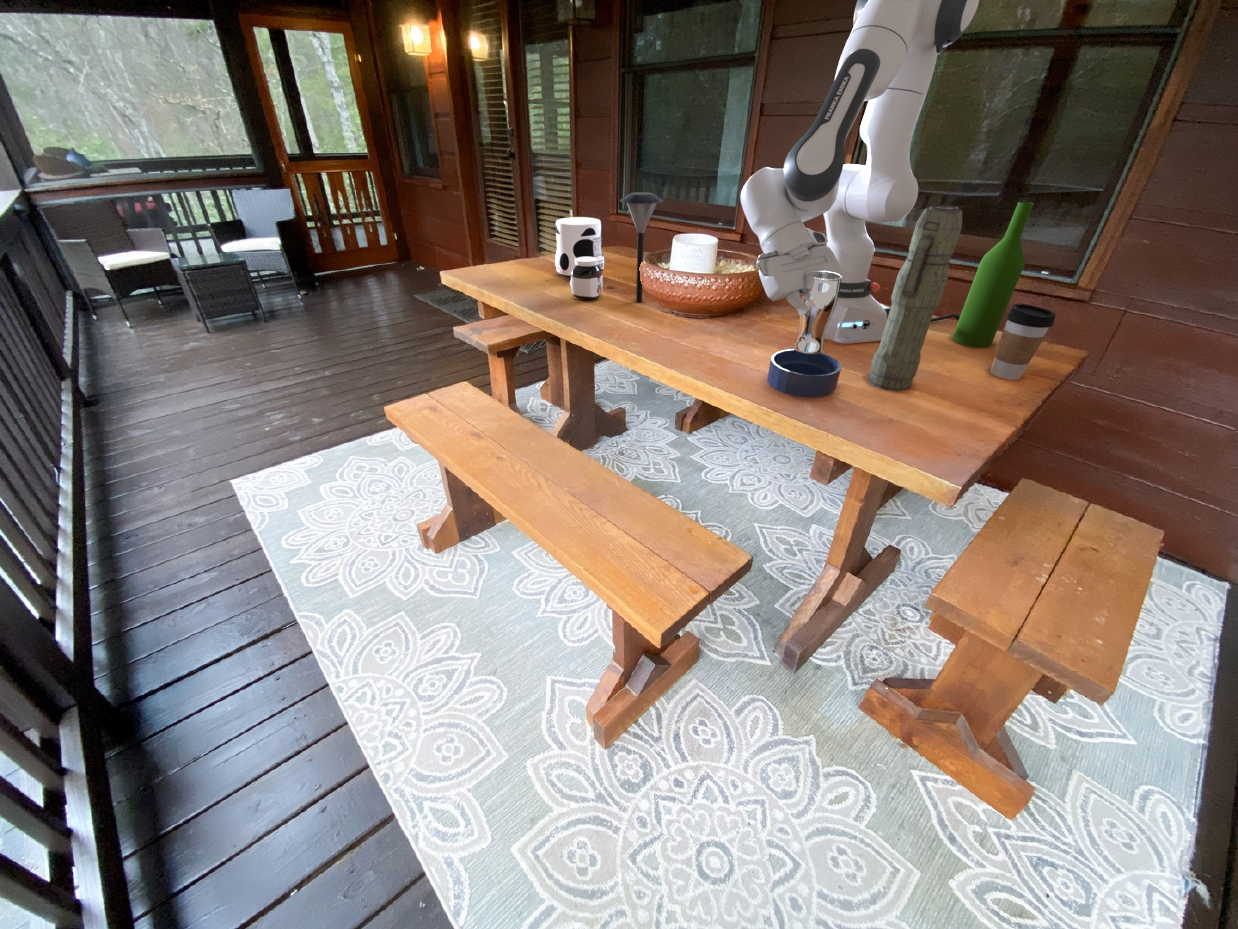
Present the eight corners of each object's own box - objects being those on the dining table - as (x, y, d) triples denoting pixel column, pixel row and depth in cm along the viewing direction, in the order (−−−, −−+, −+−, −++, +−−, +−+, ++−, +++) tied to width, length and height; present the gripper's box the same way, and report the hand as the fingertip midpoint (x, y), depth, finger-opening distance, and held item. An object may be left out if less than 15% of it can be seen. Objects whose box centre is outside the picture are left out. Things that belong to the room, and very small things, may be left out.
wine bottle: (985, 337, 140) (1041, 200, 122) (995, 349, 133) (1056, 206, 115) (948, 333, 142) (997, 198, 124) (956, 345, 135) (1010, 204, 117)
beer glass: (827, 356, 107) (845, 280, 98) (791, 353, 108) (806, 278, 100) (823, 344, 112) (840, 271, 104) (789, 341, 114) (803, 269, 105)
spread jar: (588, 303, 162) (587, 264, 156) (558, 297, 167) (556, 259, 161) (609, 294, 171) (609, 256, 164) (580, 288, 176) (579, 251, 169)
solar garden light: (666, 303, 163) (672, 194, 146) (632, 309, 157) (634, 197, 141) (645, 293, 171) (648, 189, 155) (612, 298, 166) (611, 192, 150)
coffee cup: (987, 363, 125) (1014, 300, 117) (1029, 373, 121) (1060, 308, 112) (980, 375, 120) (1008, 309, 111) (1024, 385, 115) (1056, 317, 107)
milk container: (554, 270, 195) (550, 217, 185) (600, 268, 198) (599, 215, 188) (558, 283, 181) (554, 226, 171) (608, 280, 184) (607, 224, 174)
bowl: (821, 371, 121) (826, 348, 118) (845, 400, 109) (852, 375, 106) (759, 372, 121) (763, 349, 117) (777, 400, 109) (782, 376, 106)
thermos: (859, 385, 115) (910, 208, 95) (876, 368, 122) (926, 201, 103) (902, 397, 110) (965, 213, 91) (917, 379, 118) (977, 205, 98)
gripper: (764, 245, 98) (797, 311, 97) (830, 233, 109) (860, 292, 108) (743, 265, 104) (774, 328, 103) (807, 252, 114) (836, 308, 113)
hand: (819, 309), depth 105 cm, fingers closed on beer glass, 7 cm apart
